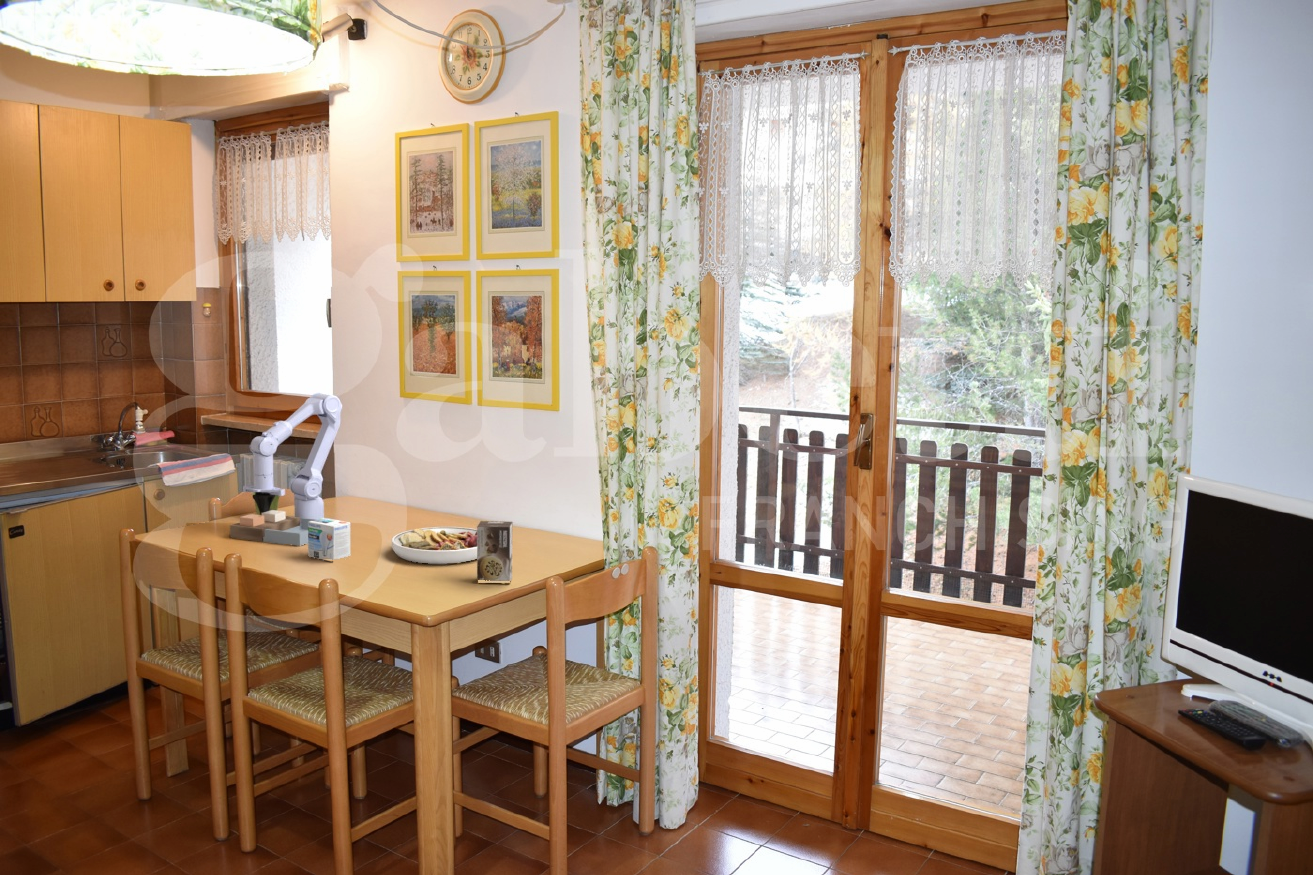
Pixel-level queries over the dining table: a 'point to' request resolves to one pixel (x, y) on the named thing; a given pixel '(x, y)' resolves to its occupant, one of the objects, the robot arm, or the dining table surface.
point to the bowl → (436, 545)
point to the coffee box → (494, 551)
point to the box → (289, 534)
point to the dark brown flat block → (262, 528)
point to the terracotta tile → (252, 520)
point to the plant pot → (273, 506)
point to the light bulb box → (328, 539)
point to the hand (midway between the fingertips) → (264, 515)
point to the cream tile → (274, 516)
